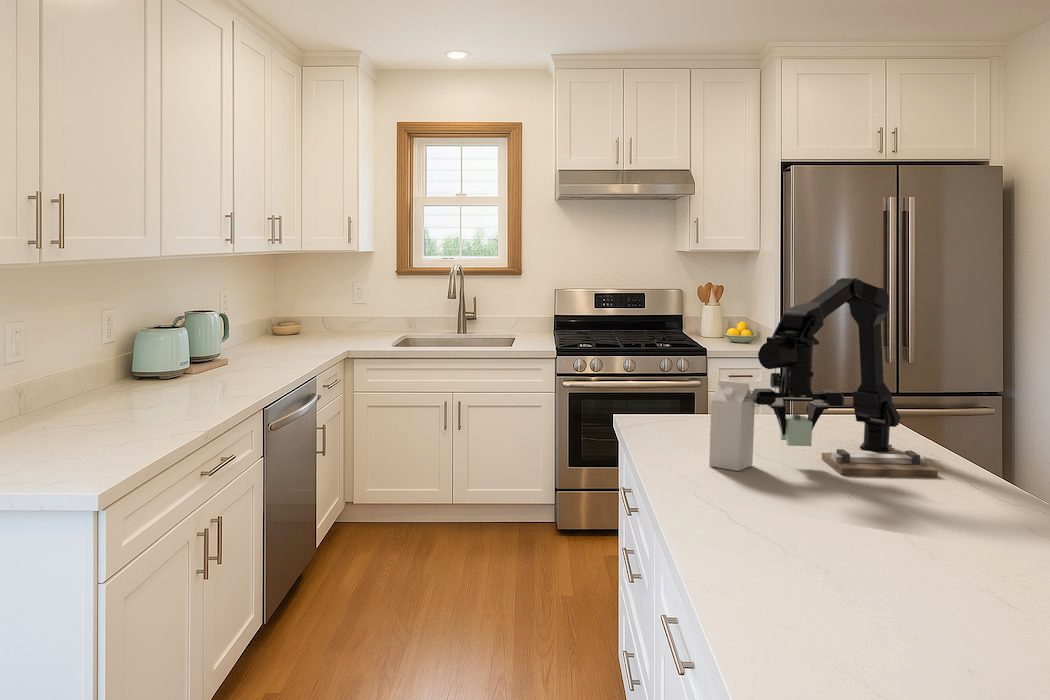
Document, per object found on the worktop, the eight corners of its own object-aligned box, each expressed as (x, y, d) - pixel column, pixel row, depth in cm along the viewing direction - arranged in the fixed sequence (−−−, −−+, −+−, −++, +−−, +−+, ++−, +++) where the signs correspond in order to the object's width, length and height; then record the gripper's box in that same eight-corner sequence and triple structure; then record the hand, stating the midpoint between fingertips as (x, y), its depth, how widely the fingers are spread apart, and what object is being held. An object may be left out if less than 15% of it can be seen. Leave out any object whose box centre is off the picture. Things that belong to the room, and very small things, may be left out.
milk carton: (723, 460, 185) (725, 378, 183) (752, 465, 180) (755, 381, 178) (708, 466, 179) (711, 382, 177) (739, 472, 175) (742, 385, 173)
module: (802, 439, 183) (803, 412, 182) (811, 446, 176) (812, 418, 175) (780, 438, 183) (781, 411, 182) (788, 445, 176) (789, 417, 175)
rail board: (910, 460, 185) (911, 445, 185) (937, 477, 171) (938, 461, 171) (821, 459, 187) (822, 444, 186) (841, 475, 173) (841, 459, 172)
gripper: (830, 361, 185) (827, 428, 187) (747, 360, 186) (745, 427, 188) (846, 368, 174) (843, 439, 176) (758, 367, 175) (756, 437, 177)
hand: (795, 435), depth 179 cm, fingers closed on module, 5 cm apart
